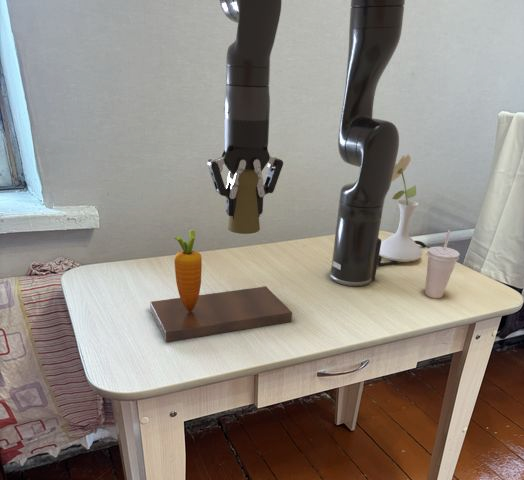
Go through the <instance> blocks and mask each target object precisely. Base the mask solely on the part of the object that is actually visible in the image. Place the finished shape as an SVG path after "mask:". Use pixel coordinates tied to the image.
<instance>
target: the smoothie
mask: <svg viewBox="0 0 524 480" xmlns="http://www.w3.org/2000/svg"><path fill="white" fill-rule="evenodd" d="M450 235H451V230H450V229H448V230H447V232H446V236H445V240H444V244H443V246H431V247H429V248H428V249H427V253H426V255H427V266H426V267H427V268H426V275H425V276H426V277H425V288H424V295H425V296H427V297H430V298H433V299H440V298H443V296H444V293H445V291H446V289H447V286H448V283H449V281H450V278H451V276H452V274H453V270H454V268H455V265H456V263H457V262H458V261H459V259H460V255H461V254H460V252H459V251H458V250H456V249H453V248H451V247H448V243H449V239H450Z"/></svg>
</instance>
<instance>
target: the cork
mask: <svg viewBox="0 0 524 480" xmlns="http://www.w3.org/2000/svg"><path fill="white" fill-rule="evenodd" d="M234 176H235V175H233V174H231V175H230V178H231V179H232V180H233V179H234ZM258 181H259V177H258V174H257V173H256V172H255V171H254V170H253V169H245V170H244V172H242V173H241V174H240V173H239V178H238V183H239V186H238V190H237V194H236V197H235V199H237V200H236V206H235V213H234V218H233V219H232V216H229V215H228V223H227V230H228V231H229V232H231V233H234V234H240V235H243V234H244V235H250V234H257V233H259V231H260V230H261V225H260V217H259V216H258V205H257V191H256V187H257V184H258Z"/></svg>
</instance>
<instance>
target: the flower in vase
mask: <svg viewBox="0 0 524 480" xmlns="http://www.w3.org/2000/svg"><path fill="white" fill-rule="evenodd" d="M411 159H412V156H411V155H410V153H407V154H406V155H405V154H403V155H402V156H401V157H400V158H399V160H398V162H397V163H395V167H394V172H393V176H392V181H391V183H392V182H393V181H394V182H395V180H396V179H398V178H399V177H400V176H401V177H402V182H403V187H404V188H403V189H404V190H399V191H397V192H396V193H394V195H393V196H392V200H398V201H397V202H396V203H397V205H398V207H399V215H400V216H399V223H398V228H397V230H396V232H395V233H393V234H392V235H391V236H388V237H387V238H385V239H384V240H381V247H380V253H379V255H380V256H381V258H384V259H386V260H389V261H399V262H398V263H405V262H406V263H407V262H414V261H417V260H419V259H420V258H421V257H422V256H423V251H422V248H421V247H420V246H419V244H416V243H415V241H416V240H414V239H413V238H412V237H411V236H410V234H409V224H410V221H411V217H412V215H413V213H414V211H415V210H416V208H417V207H418V206H419V205H420V204H419V202H417V201H413V200H409V199H410V198H413V197H416V195H417V186H416V185H413V186H411V187H409V188H407V185H406V180H405V176H404V171H406V169H407V167H408V166H409V164H410V162H411V161H412V160H411ZM403 196H404V197H405V199H400V198H401V197H403ZM399 199H400V200H399Z"/></svg>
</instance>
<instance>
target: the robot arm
mask: <svg viewBox="0 0 524 480" xmlns="http://www.w3.org/2000/svg"><path fill="white" fill-rule="evenodd" d="M282 2H283V1H282V0H219V3H220V4H219V5H220V8H221V10H222V12H223V14H224V15H225V17H227V19H229V20H230V21H232V22H234V23H236V24H237V27H236V28H237V29H236V35H235V36H236V37H235V40H234V41H233V42H232V43H231V44H229V46H228V48H227V51H226V52H227V53H226V58H225V59H226V61H225V82H226V84H225V94H224V106H223V107H224V108H223V114H224V135H223V137H224V139H223V141H224V149H223V152H222V153H221V156H220V157H218V158H215V159H211V158H210V159H207V162H206V164H207V168H208V170H209V174H210V177H211V179H212V183H213V186H214V189H215V191H216V193H218V194H219V195H220V196H222V197H225V212H226V215H227V216H228V217H229V216H232V219H233V218H234V213H235V206H236V200H237V199H235V197H236V194H237V190H238V186H239V183H238V178H239V173H240V174H241V173H242V172H244V170H245V169H253V170H254V171H255V172H256V173H257V174H258V177H259V181H258V184H257V187H256V191H257V205H258V216H259V218H260V217H261V215H262V214H263V211H264V197H265V196H266V195H268V194H273V193H274V192H275V189H276V186H277V183H278V180H279V177H280V175H281V172H282V170H283V166H284V161H283V160H282V159H280V158H278V157H275V156H274V157H273V156H270V155H271V154H270V153H269V149H268V146H269V132H270V113H271V112H270V111H271V96H270V78H271V76H270V75H271V56H272V52H273V48H274V45H275V41H276V36H277V32H278V27H279V23H280V18H281V13H282V5H283V4H282ZM405 5H406V0H350V11H349V29H348V53H347V64H346V74H345V75H346V78H345V87H344V95H343V101H342V102H343V103H342V108H341V115H340V122H339V127H338V128H339V129H338V137H337V146H338V147H337V148H338V153H339V156H340V158H341V160H342V161H343V162H344V163H346V164H348V165H351V166H355V167H358V168H359V172H358V177H357V180H356V181H355V182H352V183H347V184H344V185H343V186H342V187H341V189H340V192H339V193H340V194H339V201H338V209H337V217H336V224H335V225H336V226H335V235H334V242H333V251H332V259H331V267H330V272H329V278H330V279H331V280H332V281H333V282H335V283H338V284H341V285H344V286H348V287H349V286H350V287H361V286H362V287H363V286H367V285H369V284H370V283H371V282H374V281H376V275H377V270H378V267H386V266H393V265H396V264H398V263H400V262H399V261H393V260H390V261H387V262H382V260H383V257H382V256H380V255H379V253H380V247H381V242H382V239H381V238H379V235H380V229H381V225H382V223H381V222H382V216H383V211H384V206H385V205H384V204H385V199H386V196H387V195H388V193H389V191H390V188H391V185H392V182H393V181H392V176H393V172H394V167H395V164H397V163H396V162H397V159H398V153H399V147H400V133H399V130H398V128H397V126H396V124H394V123H393V122H391V121H388V120H385V119H380V118H374V115H373V113H374V103H375V96H376V95H375V94H376V91H377V87H378V84H379V82H380V79H381V77H382V76H383V74H384V72H385V70H386V69H387V67H388V65H389V63H390V62H391V59H392V57H393V56H394V54H395V52H396V50H397V47H398V45H399V43H400V40H401V36H402V31H403V30H402V29H403V23H404V12H405ZM224 165H225V167H226V168H227V170H228V171H229V172H228V175H227V184H225V182H224V179H223V176H222V174H221V173H222V172H223V171H224V170H223V169H224V167H223V166H224ZM266 166H267V168H268V170H267V173H266V176H265V179H264V178H263V170H264V169H265V167H266ZM231 174H233V175H235V176H234V179H233V180H232V179H231V178H230V175H231ZM391 181H392V182H391ZM225 185H226V186H225ZM414 241H415V243H416V244H417V245H418V246H419V245H420V246H421V247H422V248H427V245H426V244H425V243H424V242H423V241H420V240H414Z"/></svg>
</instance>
